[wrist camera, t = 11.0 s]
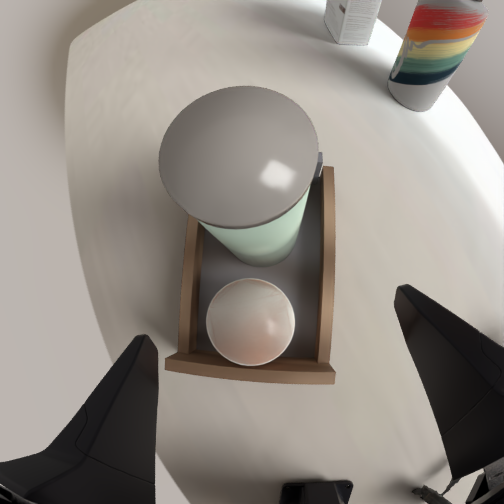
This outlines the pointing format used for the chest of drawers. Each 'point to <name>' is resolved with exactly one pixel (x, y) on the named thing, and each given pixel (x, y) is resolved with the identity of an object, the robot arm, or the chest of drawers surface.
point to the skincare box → (351, 20)
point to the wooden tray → (281, 275)
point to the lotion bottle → (434, 49)
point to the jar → (250, 322)
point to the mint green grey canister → (242, 169)
